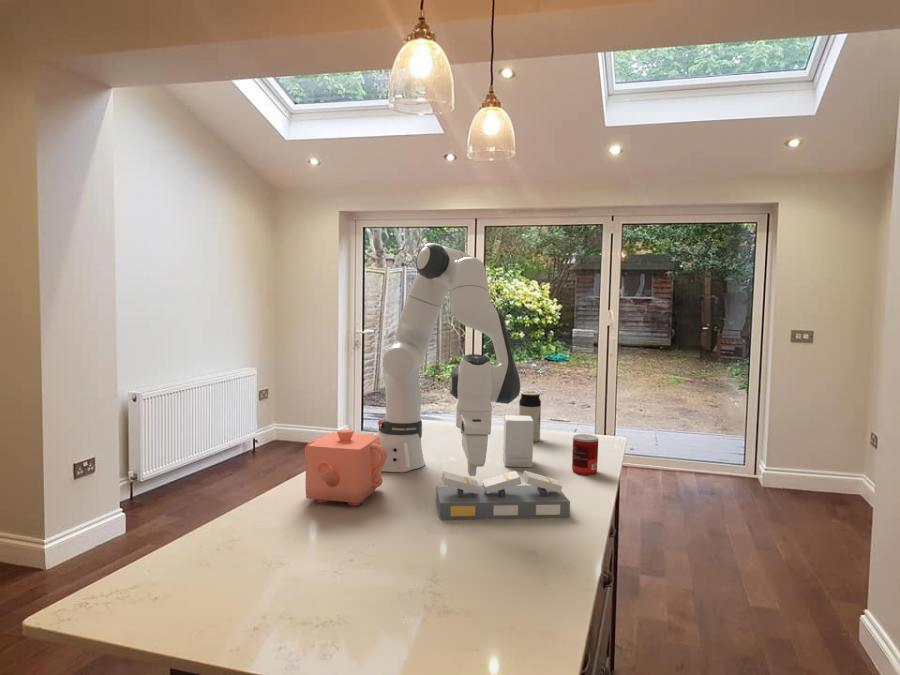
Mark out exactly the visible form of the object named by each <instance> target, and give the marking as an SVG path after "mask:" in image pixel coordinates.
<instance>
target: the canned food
mask: <svg viewBox="0 0 900 675" xmlns="http://www.w3.org/2000/svg"><path fill="white" fill-rule="evenodd" d="M571 455H572V458H571V459H572V460H571V461H572V462H571V469H572V472H573V473H574V474H577V475H580V476H593V475H596V474H597V473H598V472H597V471H598V462H599V461H598V460H599V459H598V458H599V456H598V455H599V437H598V436H597V435H594V434H586V433H585V434H584V433H581V434H580V433H579V434H575V435H573V437H572V454H571Z"/></svg>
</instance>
